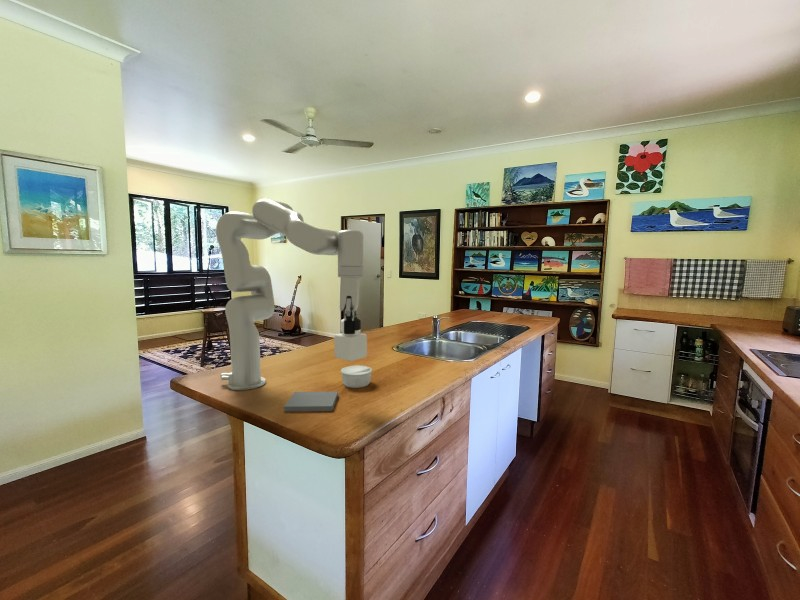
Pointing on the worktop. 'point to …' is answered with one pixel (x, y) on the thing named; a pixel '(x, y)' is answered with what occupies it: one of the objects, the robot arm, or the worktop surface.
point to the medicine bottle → (351, 343)
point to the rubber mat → (311, 401)
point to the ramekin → (356, 376)
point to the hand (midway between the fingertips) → (350, 331)
